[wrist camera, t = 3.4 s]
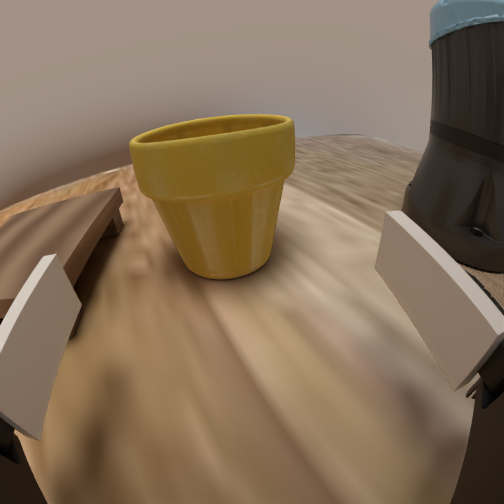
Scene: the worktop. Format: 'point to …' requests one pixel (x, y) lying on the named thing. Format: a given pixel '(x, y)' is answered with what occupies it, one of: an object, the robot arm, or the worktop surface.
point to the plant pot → (218, 187)
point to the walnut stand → (55, 239)
